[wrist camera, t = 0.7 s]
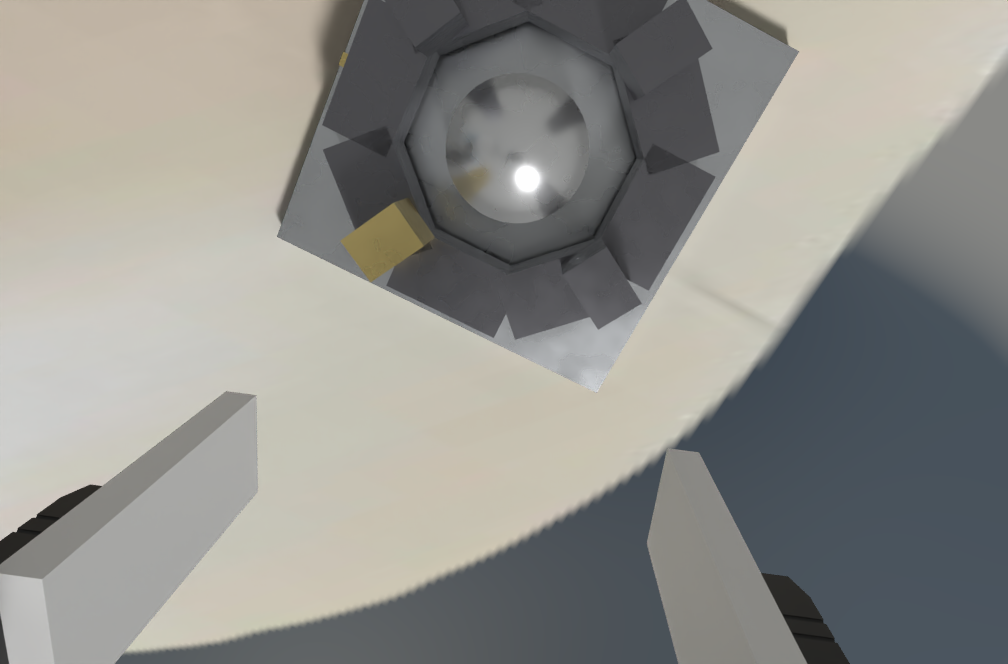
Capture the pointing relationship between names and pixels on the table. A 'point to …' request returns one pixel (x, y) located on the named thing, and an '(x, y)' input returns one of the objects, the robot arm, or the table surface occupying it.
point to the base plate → (539, 162)
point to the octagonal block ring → (561, 274)
